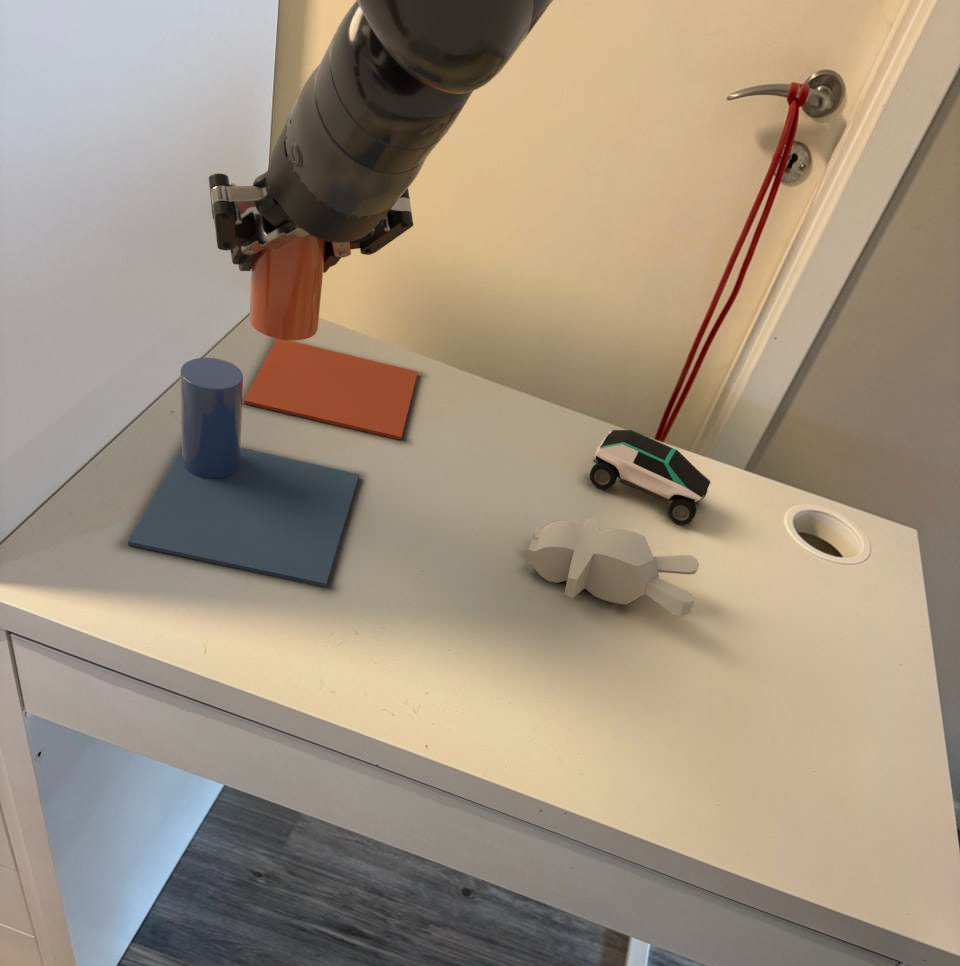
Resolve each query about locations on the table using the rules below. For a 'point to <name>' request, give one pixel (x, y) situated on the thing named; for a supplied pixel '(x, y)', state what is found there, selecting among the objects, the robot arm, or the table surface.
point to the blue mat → (253, 516)
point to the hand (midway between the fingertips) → (280, 258)
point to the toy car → (650, 472)
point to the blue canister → (211, 417)
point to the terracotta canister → (288, 289)
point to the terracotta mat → (334, 388)
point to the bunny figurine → (608, 564)
